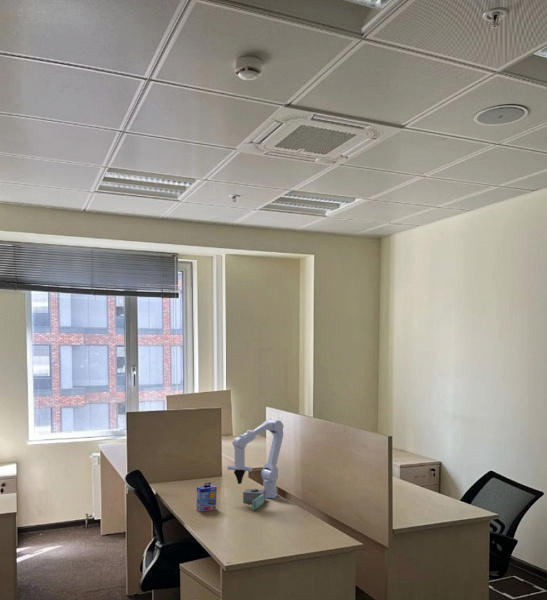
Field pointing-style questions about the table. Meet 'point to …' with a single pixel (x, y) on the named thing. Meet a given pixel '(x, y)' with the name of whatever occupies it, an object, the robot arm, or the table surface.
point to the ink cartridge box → (206, 497)
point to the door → (257, 502)
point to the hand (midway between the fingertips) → (239, 483)
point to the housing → (252, 495)
